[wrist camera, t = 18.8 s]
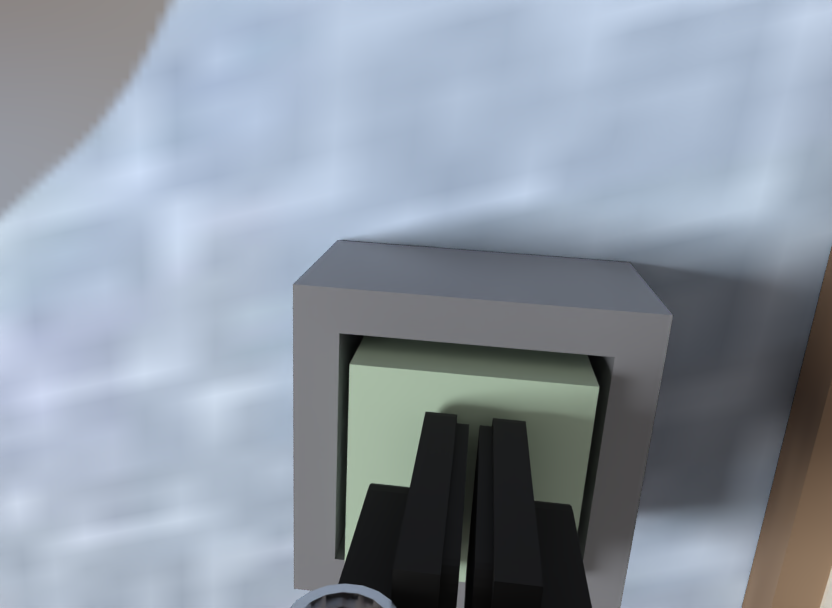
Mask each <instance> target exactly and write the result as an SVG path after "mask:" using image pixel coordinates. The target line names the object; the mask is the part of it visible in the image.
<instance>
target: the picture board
mask: <svg viewBox="0 0 832 608" xmlns="http://www.w3.org/2000/svg"><path fill="white" fill-rule="evenodd" d="M742 608H832V247H831V251H830V255H829V259H828V263H827V267H826V271H825V275H824V279H823V283H822V287H821V291H820V295H819V299H818V303H817V307H816V311H815V315H814V319H813V323H812V327H811V331H810V335H809V340H808V344H807V348H806V352H805V356H804V360H803V364H802V368H801V372H800V376H799V380H798V384H797V388H796V392H795V396H794V400H793V404H792V408H791V412H790V416H789V420H788V424H787V428H786V432H785V436H784V440H783V444H782V448H781V452H780V456H779V460H778V464H777V468H776V472H775V476H774V480H773V484H772V488H771V492H770V496H769V500H768V504H767V508H766V512H765V516H764V520H763V524H762V528H761V532H760V536H759V540H758V544H757V548H756V552H755V556H754V560H753V564H752V568H751V572H750V576H749V580H748V584H747V588H746V592H745V596H744V600H743V604H742Z"/></svg>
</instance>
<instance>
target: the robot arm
mask: <svg viewBox="0 0 832 608" xmlns="http://www.w3.org/2000/svg"><path fill="white" fill-rule="evenodd" d="M468 437H469V424H462V423H457V414H447V413H437V412H425V416H424V421H423V426H422V430H421V435H420V440H419V445H418V450H417V455H416V459H415V464H414V469H413V474H412V479H411V483H410V487H404V486H394V485H385V484H376V483H371V484H370V485H369V488H368V490H367V493H366V497H365V500H364V503H363V506H362V509H361V513H360V516H359V519H358V522H357V525H356V529H355V532H354V535H353V538H352V541H351V545H350V548H349V551H348V554H347V557H346V561H345V564H344V567H343V570H342V573H341V577H340V580H339V583H338V584H336V585H327V586H324V587H322V588H319V589H316V590H313V591H310V592H309V593H307V594H306V595H304V596H303V597H301V598H299V599H298V600H296V602H295V603H294V604H293V605H292V606H291V607H290V608H456V607H457V596H458V584H459V571H460V557H461V542H462V527H463V512H464V497H465V482H466V467H467V452H468ZM464 608H592V605H591V600H590V595H589V590H588V584H587V579H586V574H585V569H584V564H583V559H582V554H581V549H580V544H579V539H578V534H577V528H576V523H575V518H574V513H573V509H572V506H571V505H570V504H562V503H553V502H543V501H534V494H533V485H532V475H531V466H530V456H529V447H528V437H527V428H526V421H519V420H509V419H498V418H493V420H492V426H482V425H480V426H479V436H478V447H477V458H476V469H475V479H474V490H473V501H472V512H471V523H470V534H469V545H468V556H467V567H466V581H465V600H464Z"/></svg>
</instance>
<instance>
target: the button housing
mask: <svg viewBox="0 0 832 608" xmlns="http://www.w3.org/2000/svg"><path fill="white" fill-rule="evenodd" d="M672 319H673V314H672V313H671V312H670V311H669V310H668V308H667V307H666V306H665V305H664V304H663V302H662V301H661V300H660V299H659V297H658V296H657V295H656V294H655V293H654V291H653V290H652V289H651V288H650V287H649V285H648V284H647V283H646V282H645V280H644V279H643V278H642V277H641V276H640V274H639V273H638V272H637V271H636V270H635V268H634V267H633V266H632V265H631V263H630V262H619V261H606V260H593V259H580V258H566V257H553V256H540V255H527V254H513V253H500V252H487V251H474V250H460V249H447V248H434V247H421V246H407V245H394V244H381V243H368V242H354V241H341V240H337V241H336V242H335V243H334V244H333V245H332V246H331V247H330V248H329V249H328V250H327V251H326V252H325V253H324V254H323V255H322V256H321V257H320V258H319V259H318V260H317V261H316V262H315V263H314V264H313V265H312V266H311V267H310V268H309V269H308V270H307V271H306V272H305V273H304V274H303V275H302V276H301V277H300V278H299V279H298V280H297V281H296V282H295V283H294V284H293V428H294V589H302V590H310V591H313V590H316V589H319V588H322V587H324V586H327V585H336V584H338V583H339V580H340V577H341V573H342V570H343V567H344V564H345V528H346V488H347V448H348V407H349V367H350V362H351V360H352V359H353V357H354V355H355V353H356V351H357V349H358V347H359V345H360V343H361V341H362V339H363V337H364V335H365V336H377V337H388V338H400V339H411V340H423V341H434V342H446V343H457V344H469V345H480V346H492V347H503V348H515V349H526V350H538V351H549V352H561V353H572V354H584V355H588V358H589V361H590V363H591V366H592V369H593V371H594V374H595V377H596V379H597V382H598V385H599V393H598V399H597V406H596V413H595V419H594V426H593V433H592V439H591V446H590V453H589V459H588V466H587V472H586V479H585V486H584V492H583V499H582V506H581V512H580V519H579V526H578V532H577V534H578V539H579V544H580V549H581V554H582V559H583V564H584V569H585V574H586V579H587V584H588V590H589V595H590V600H591V605H592V608H620V606H621V601H622V595H623V590H624V584H625V579H626V573H627V568H628V562H629V557H630V551H631V546H632V540H633V534H634V529H635V523H636V518H637V512H638V507H639V501H640V496H641V490H642V485H643V479H644V474H645V468H646V463H647V457H648V451H649V446H650V440H651V435H652V429H653V424H654V418H655V413H656V407H657V402H658V396H659V391H660V385H661V380H662V374H663V368H664V363H665V357H666V352H667V346H668V341H669V335H670V330H671V324H672ZM464 600H465V582H459V584H458V596H457V607H456V608H464Z"/></svg>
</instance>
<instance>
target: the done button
mask: <svg viewBox="0 0 832 608" xmlns="http://www.w3.org/2000/svg"><path fill="white" fill-rule="evenodd" d="M598 393H599V385H598V382H597V379H596V377H595V374H594V371H593V369H592V366H591V363H590V361H589V358H588V355H584V354H572V353H561V352H549V351H538V350H526V349H515V348H503V347H492V346H480V345H469V344H457V343H446V342H434V341H423V340H411V339H400V338H388V337H377V336H365V335H364V337H363V339H362V341H361V343H360V345H359V347H358V349H357V351H356V353H355V355H354V357H353V359H352V360H351V362H350V367H349V407H348V448H347V488H346V528H345V561H346V557H347V554H348V551H349V548H350V545H351V541H352V538H353V535H354V532H355V529H356V525H357V522H358V519H359V516H360V513H361V509H362V506H363V503H364V500H365V497H366V493H367V490H368V488H369V485H370V484H371V483H376V484H385V485H394V486H404V487H410V483H411V479H412V474H413V469H414V464H415V459H416V455H417V450H418V445H419V440H420V435H421V430H422V426H423V421H424V416H425V412H437V413H447V414H457V423H462V424H469V437H468V452H467V467H466V482H465V497H464V512H463V527H462V542H461V557H460V571H459V582H465V581H466V567H467V556H468V545H469V534H470V523H471V512H472V501H473V490H474V479H475V469H476V458H477V447H478V436H479V426H480V425H482V426H492V420H493V418H498V419H509V420H519V421H526V428H527V437H528V447H529V456H530V466H531V475H532V485H533V494H534V501H543V502H553V503H562V504H570V505H571V506H572V509H573V513H574V518H575V523H576V528H577V532H578V526H579V519H580V512H581V506H582V499H583V492H584V486H585V479H586V472H587V466H588V459H589V453H590V446H591V439H592V433H593V426H594V419H595V413H596V406H597V399H598Z"/></svg>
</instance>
